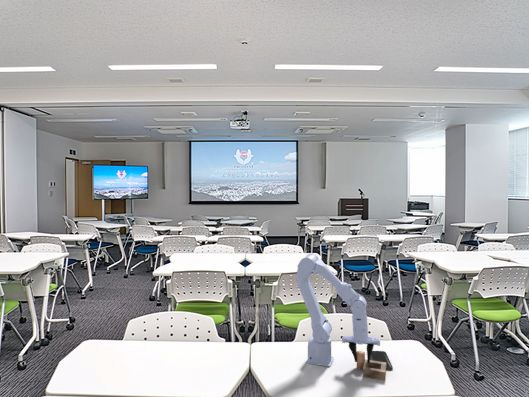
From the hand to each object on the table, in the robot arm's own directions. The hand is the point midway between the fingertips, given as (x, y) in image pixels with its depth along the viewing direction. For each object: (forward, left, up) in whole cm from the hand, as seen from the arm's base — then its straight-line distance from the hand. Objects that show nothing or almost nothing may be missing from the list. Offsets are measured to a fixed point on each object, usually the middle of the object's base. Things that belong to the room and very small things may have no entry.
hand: (362, 361), depth 147 cm
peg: (-1, 0, -2) cm, 2 cm away
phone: (+6, +8, -3) cm, 10 cm away
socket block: (+5, -3, -2) cm, 6 cm away
